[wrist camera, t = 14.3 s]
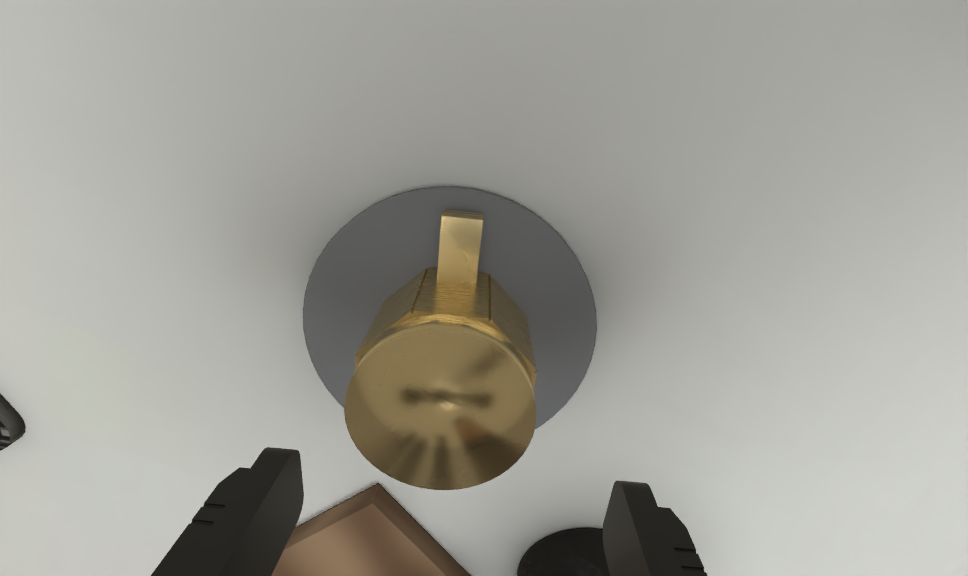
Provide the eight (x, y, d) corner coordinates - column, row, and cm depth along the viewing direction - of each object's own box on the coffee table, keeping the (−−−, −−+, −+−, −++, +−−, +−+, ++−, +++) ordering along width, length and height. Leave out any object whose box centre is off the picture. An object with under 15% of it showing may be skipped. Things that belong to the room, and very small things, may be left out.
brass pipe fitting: (385, 200, 16) (341, 239, 11) (542, 216, 16) (565, 263, 12) (379, 432, 20) (345, 534, 15) (506, 443, 20) (512, 548, 16)
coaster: (491, 119, 16) (491, 120, 15) (642, 364, 19) (647, 371, 19) (247, 293, 18) (240, 299, 18) (422, 479, 22) (420, 489, 21)
